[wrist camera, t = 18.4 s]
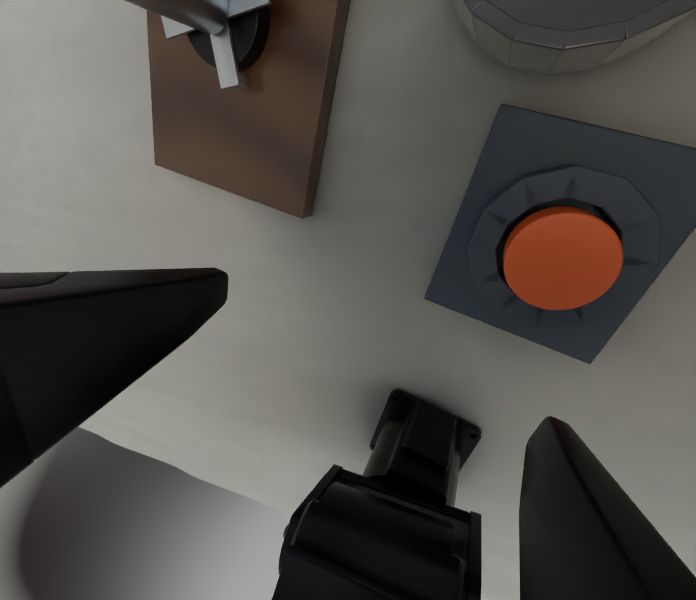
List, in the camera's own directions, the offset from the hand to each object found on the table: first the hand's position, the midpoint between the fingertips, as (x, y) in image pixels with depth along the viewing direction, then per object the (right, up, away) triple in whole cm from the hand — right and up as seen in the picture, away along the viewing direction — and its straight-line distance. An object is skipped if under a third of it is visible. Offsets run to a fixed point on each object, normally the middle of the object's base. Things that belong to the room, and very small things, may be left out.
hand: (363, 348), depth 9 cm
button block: (+10, +4, +8) cm, 13 cm away
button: (+9, +3, +6) cm, 11 cm away
